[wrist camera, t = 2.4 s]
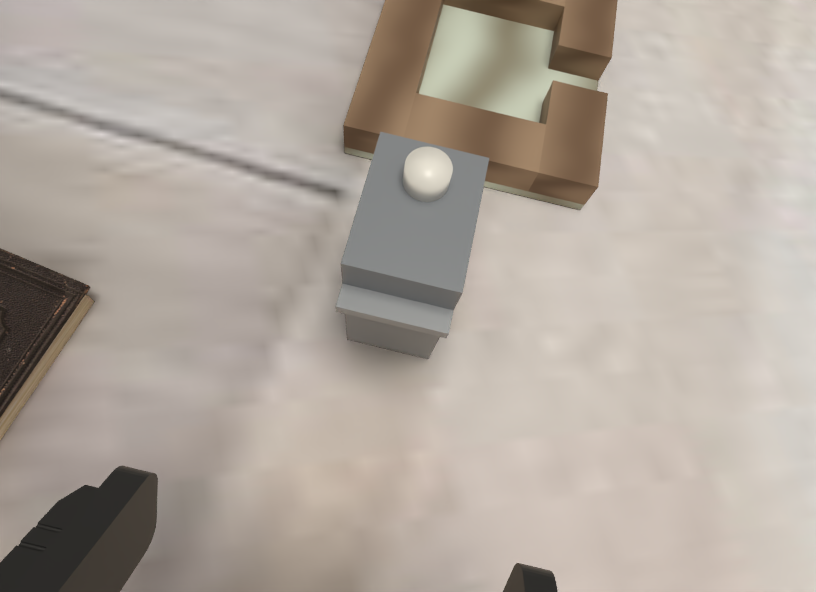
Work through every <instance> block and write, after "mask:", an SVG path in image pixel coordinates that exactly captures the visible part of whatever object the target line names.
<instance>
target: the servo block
mask: <svg viewBox="0 0 816 592" xmlns="http://www.w3.org/2000/svg"><path fill="white" fill-rule="evenodd" d="M488 162H489V158H487V157H483V156H479V155H475V154H471V153H467V152H463V151H458V150H454V149H450V148H446V147H442V146H438V145H434V144H430V143H425V142H421V141H417V140H413V139H409V138H405V137H401V136H397V135H392V134H388V133H384V132H380V135H379V138H378V142H377V145H376V148H375V151H374V155H373V158H372V161H371V165H370V168H369V171H368V175H367V178H366V181H365V185H364V188H363V191H362V195H361V198H360V201H359V205H358V208H357V211H356V215H355V218H354V221H353V225H352V228H351V231H350V235H349V238H348V241H347V245H346V248H345V251H344V255H343V258H342V261H341V272H342V287H341V290H340V293H339V297H338V300H337V304H336V312H340V313H344V314H345V319H346V331H347V340H351V341H355V342H360V343H364V344H368V345H372V346H376V347H380V348H384V349H388V350H393V351H397V352H401V353H405V354H409V355H413V356H417V357H422V358H426V359H429V357H430V355H431V353H432V351H433V349H434V347H435V345H436V343H437V341H438V339H439V337H443V338H447V336H448V334H449V330H450V325H451V320H452V315H453V310H454V308H455V306H456V304H457V302H458V301H459V299H460V297H461V295H462V292H463V287H464V282H465V277H466V272H467V267H468V262H469V257H470V252H471V247H472V242H473V237H474V232H475V227H476V222H477V217H478V212H479V207H480V202H481V197H482V192H483V187H484V182H485V177H486V172H487V167H488Z"/></svg>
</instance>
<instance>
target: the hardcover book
mask: <svg viewBox="0 0 816 592" xmlns="http://www.w3.org/2000/svg"><path fill="white" fill-rule="evenodd" d="M89 289H90V286H88V285H86V284H84V283H81V282H79V281H77V280H74V279H72V278H69V277H67V276H65V275H62V274H60V273H58V272H55V271H53V270H50V269H48V268H46V267H43V266H41V265H38V264H36V263H34V262H31V261H29V260H27V259H24V258H22V257H19V256H17V255H15V254H12V253H10V252H8V251H5V250H3V249H0V440H1V438H2V437H3V435H4V434H5V433H6V431H7V430H8V428H9V427H10V425H11V424H12V422H13V421H14V419H15V418H16V416H17V415H18V413H19V412H20V410H21V409H22V408H23V406H24V405H25V403H26V402H27V400H28V399H29V397H30V396H31V394H32V393H33V391H34V390H35V388H36V387H37V385H38V384H39V383H40V381H41V380H42V378H43V377H44V375H45V374H46V372H47V371H48V369H49V368H50V366H51V365H52V363H53V362H54V360H55V359H56V358H57V356H58V355H59V353H60V352H61V350H62V349H63V347H64V346H65V344H66V343H67V341H68V340H69V338H70V337H71V335H72V334H73V333H74V331H75V330H76V328H77V327H78V325H79V324H80V322H81V321H82V319H83V318H84V316H85V315H86V313H87V312H88V310H89V309H90V308H91V306H92V305H93V303H94V302H95V301H93V300H92V299H91V298H90V297H89V296H87V295H86V293H87V292H88V290H89Z"/></svg>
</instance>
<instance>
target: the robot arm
mask: <svg viewBox="0 0 816 592" xmlns="http://www.w3.org/2000/svg"><path fill="white" fill-rule="evenodd" d="M157 485H158V478H157V475H156V474H155V473H150V472H146V471H142V470H138V469H134V468H130V467H126V466H119V467H118V468H116V469H115V470H114V471H113V472H112V473H111V474H110V475H109V477H108V478H107V479H106V480H105V481H104V482H103V483H102V485H101V486H100V487H99V488H96V487H92V486H88V485H84V486H83V487H81V488H79V489H78V490H76V491H74V492H73V493H71V494H69V495H68V496H66V497H64V498H63V499H61V500H59V501H58V502H57V503H56V504H55V505H54V506H53V507H52V508H51V509H50V510H49V512H48V513H47V514H46V515H45V516H44V517H43V518H42V519H41V520H40V521H39V522H38V525H37V526H36V527H33V529H32V530H31V531H30V532H29V533H28V534H27V535H26V536H25V537H24V538H23V539H22V540H21V543H20V544H19V546H16V547H15V548H14V549H13V550H12V551H11V552H10V553H9V554H8V555H7V556H6V557H5V558H4V559H3V560H2V561H1V562H0V592H120V590H121V589H122V587H123V586H124V584H125V583H126V581H127V580H128V578H129V577H130V575H131V574H132V572H133V571H134V569H135V568H136V566H137V565H138V563H139V562H140V560H141V559H142V557H143V556H144V554H145V552H146V551H147V549H148V547H149V545H150V543H151V540H152V538H153V535H154V532H155V528H156V519H157ZM503 592H557V586H556V581H555V577H554V574H553V573H552V572H551V571H549V570H545V569H541V568H537V567H533V566H528V565H524V564H520V563H517V564H516V565H515V566H514V568H513V570H512V572H511V575H510V577H509V579H508V581H507V584H506V586H505V588H504V590H503Z"/></svg>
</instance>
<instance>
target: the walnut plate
mask: <svg viewBox="0 0 816 592" xmlns="http://www.w3.org/2000/svg"><path fill="white" fill-rule="evenodd" d="M616 10H617V0H385V3H384V6H383V9H382V12H381V15H380V18H379V21H378V24H377V27H376V30H375V33H374V36H373V39H372V42H371V45H370V47H369V50H368V53H367V56H366V59H365V62H364V65H363V68H362V71H361V74H360V77H359V80H358V83H357V86H356V89H355V92H354V95H353V98H352V101H351V104H350V107H349V110H348V113H347V116H346V119H345V122H344V125H343V127H344V149H345V153H347V154H351V155H355V156H359V157H364V158H368V159H372V158H373V155H374V151H375V148H376V145H377V142H378V138H379V135H380V132H384V133H388V134H392V135H397V136H401V137H405V138H409V139H413V140H417V141H421V142H425V143H430V144H434V145H438V146H442V147H446V148H450V149H454V150H458V151H463V152H467V153H471V154H475V155H479V156H483V157H487V158H489V162H488V167H487V172H486V177H485V182H484V187H487V188H491V189H496V190H500V191H504V192H508V193H512V194H516V195H520V196H524V197H529V198H533V199H537V200H541V201H545V202H549V203H553V204H557V205H562V206H566V207H570V208H574V209H578V210H581V208H582V207H583V206H584V204H585V203H586V202H587V201H588V199H589V198H590V197H591V195H592V194H593V193H594V192H595V190H596V189H597V188H598V183H599V174H600V164H601V154H602V145H603V135H604V125H605V116H606V106H607V96H608V93H604V92H599V91H597V87H598V80H599V78H600V77H601V75H602V73H603V72H604V70H605V68H606V66H607V65H608V63H609V61H610V60H611V58H612V48H613V39H614V29H615V19H616Z"/></svg>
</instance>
